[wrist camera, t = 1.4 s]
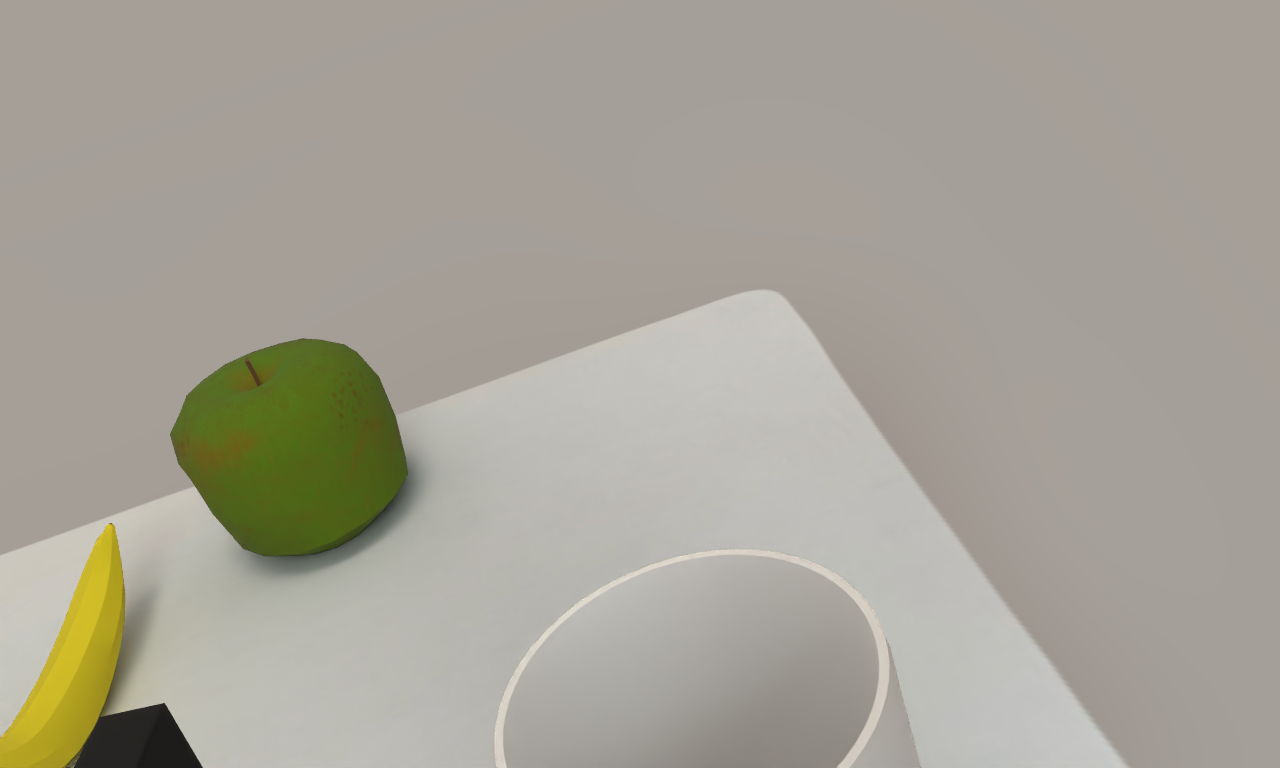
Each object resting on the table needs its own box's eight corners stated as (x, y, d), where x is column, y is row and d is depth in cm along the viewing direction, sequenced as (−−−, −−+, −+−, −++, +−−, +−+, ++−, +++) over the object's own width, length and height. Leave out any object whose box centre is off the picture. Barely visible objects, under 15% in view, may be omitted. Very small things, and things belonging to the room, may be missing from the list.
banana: (179, 584, 63) (121, 495, 60) (31, 881, 47) (-59, 778, 44) (132, 597, 64) (72, 509, 61) (-32, 896, 47) (-125, 795, 44)
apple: (450, 450, 67) (378, 290, 62) (377, 573, 58) (285, 399, 53) (294, 470, 71) (213, 321, 66) (203, 589, 62) (101, 427, 57)
